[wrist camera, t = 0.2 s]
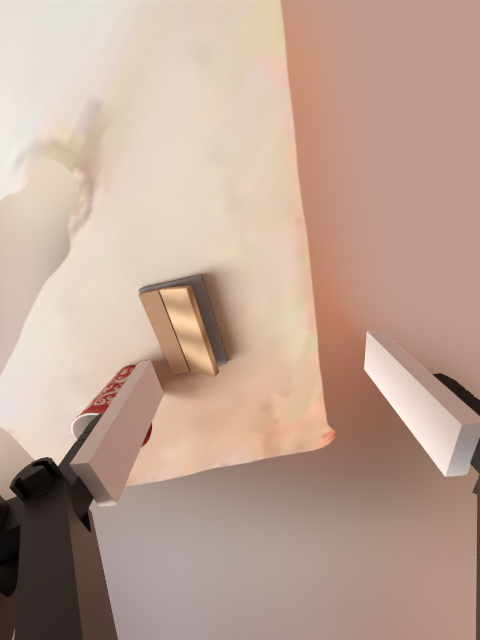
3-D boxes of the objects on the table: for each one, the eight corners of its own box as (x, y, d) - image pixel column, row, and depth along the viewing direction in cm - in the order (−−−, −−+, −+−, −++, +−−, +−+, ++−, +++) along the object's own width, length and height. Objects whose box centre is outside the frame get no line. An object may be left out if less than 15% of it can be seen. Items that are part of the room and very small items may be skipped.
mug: (103, 375, 50) (57, 430, 38) (133, 354, 47) (95, 405, 35) (146, 412, 54) (118, 472, 42) (176, 394, 52) (156, 452, 39)
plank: (164, 287, 40) (159, 290, 39) (190, 285, 37) (186, 288, 36) (194, 367, 47) (190, 371, 46) (219, 372, 44) (215, 376, 43)
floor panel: (140, 288, 42) (135, 292, 40) (201, 274, 40) (199, 277, 38) (175, 370, 49) (172, 377, 47) (227, 360, 48) (226, 367, 46)
